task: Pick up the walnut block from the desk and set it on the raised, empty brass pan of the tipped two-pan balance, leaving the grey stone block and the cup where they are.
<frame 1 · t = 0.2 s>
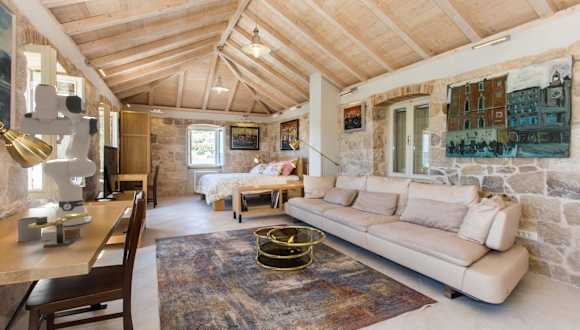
hand: (47, 143, 139), 47 cm above the table, tool pointing down, fingers open, 8 cm apart
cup: (30, 239, 138), on the table
walnut block: (72, 238, 140), on the table
balance: (59, 243, 131), on the table
grey stone block: (49, 239, 138), on the table
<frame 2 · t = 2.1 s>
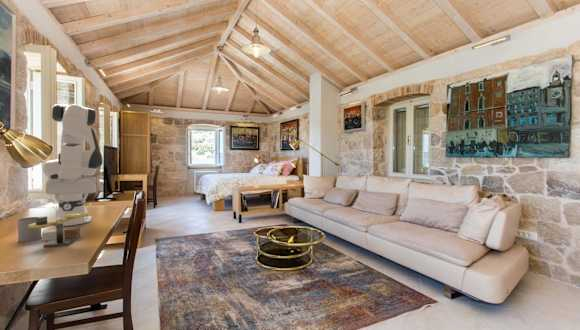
hand: (72, 202, 139), 18 cm above the table, tool pointing down, fingers open, 8 cm apart
nothing on the table moved.
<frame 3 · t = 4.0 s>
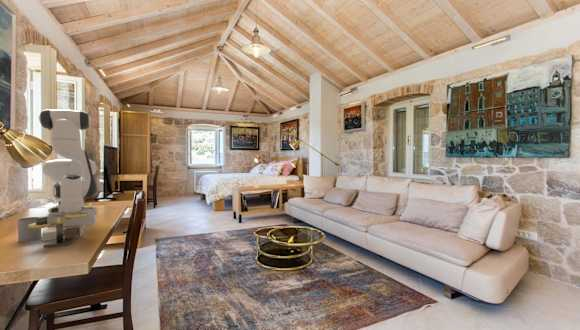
hand: (72, 234, 140), 2 cm above the table, tool pointing down, fingers closed on walnut block, 5 cm apart
walnut block: (72, 238, 140), on the table, touching gripper
everything else where it was.
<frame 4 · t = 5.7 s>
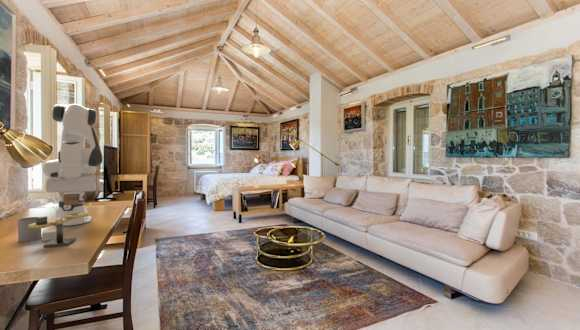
hand: (72, 200, 139), 19 cm above the table, tool pointing down, fingers closed on walnut block, 5 cm apart
walnut block: (72, 204, 139), point 17 cm above the table, touching gripper
everything else where it was.
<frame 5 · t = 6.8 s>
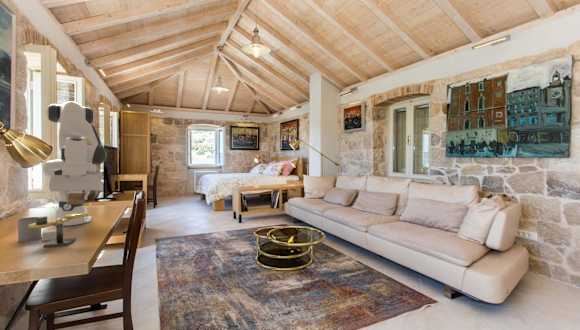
hand: (76, 200, 132), 20 cm above the table, tool pointing down, fingers closed on walnut block, 5 cm apart
walnut block: (76, 203, 132), point 19 cm above the table, touching gripper
everything else where it was.
when the fingers open (17 cm above the table, at t = 7.7 s): walnut block drops 1 cm, resting on balance.
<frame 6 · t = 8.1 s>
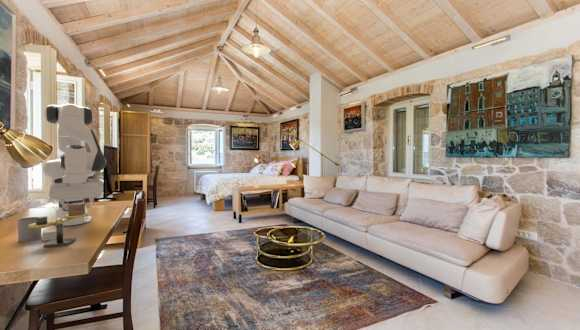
hand: (76, 207, 132), 17 cm above the table, tool pointing down, fingers open, 8 cm apart
walnut block: (76, 214, 133), point 13 cm above the table, touching balance
everything else where it was.
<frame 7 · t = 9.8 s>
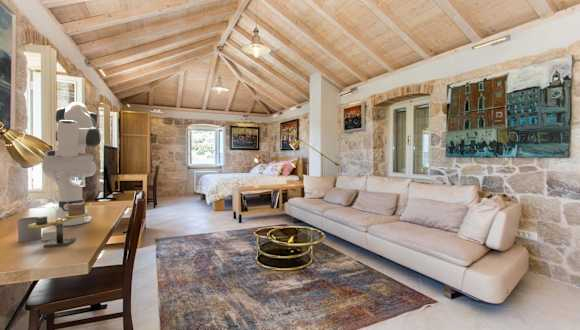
hand: (69, 180, 139), 29 cm above the table, tool pointing down, fingers open, 8 cm apart
nothing on the table moved.
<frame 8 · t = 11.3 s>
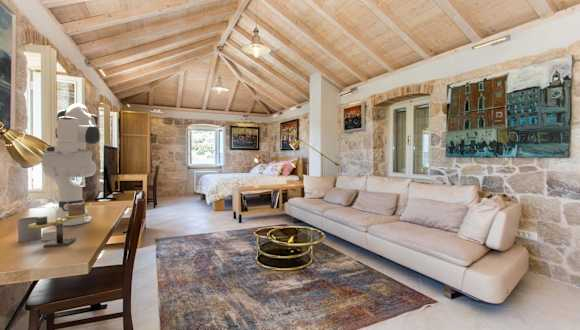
hand: (68, 176, 140), 31 cm above the table, tool pointing down, fingers open, 8 cm apart
nothing on the table moved.
at the end: walnut block inside the target area on the balance (0.0 cm from its centre), point 13.5 cm above the balance's base; the gripper is holding nothing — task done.
